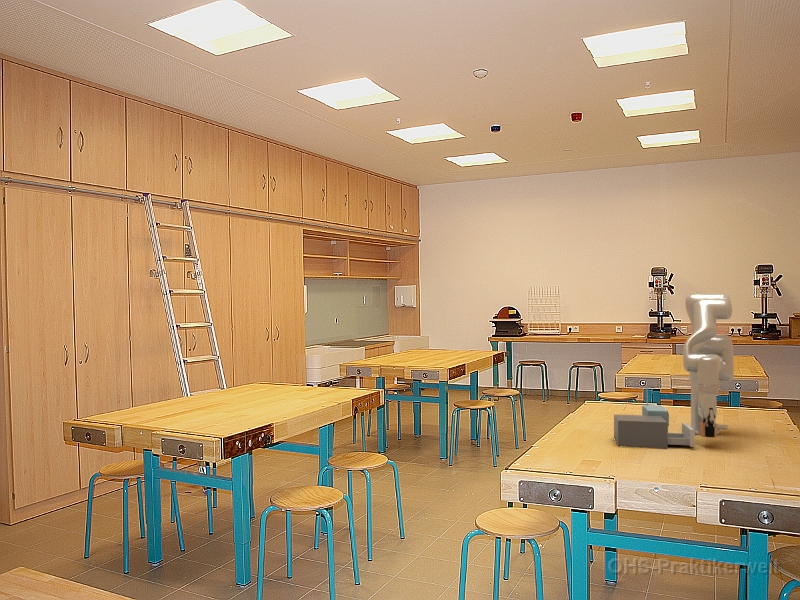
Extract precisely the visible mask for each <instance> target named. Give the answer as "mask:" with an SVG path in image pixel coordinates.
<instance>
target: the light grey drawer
mask: <svg viewBox="0 0 800 600" xmlns="http://www.w3.org/2000/svg"><path fill="white" fill-rule="evenodd" d="M667 445H671V446H672V445H673V446H674V445H675V446H678V445H679V446H690V447H693V448H694V447H695V434H694V429H693V428H691V425H690V424H688V423H687V422H682V423H681V432H668V433H667Z"/></svg>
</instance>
